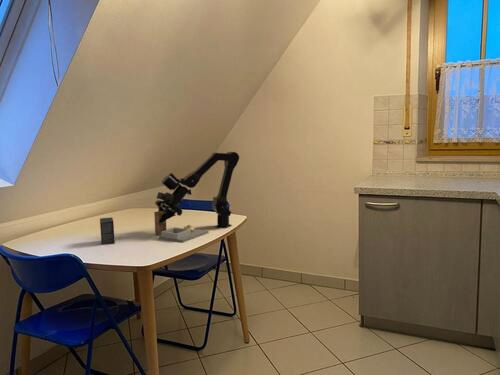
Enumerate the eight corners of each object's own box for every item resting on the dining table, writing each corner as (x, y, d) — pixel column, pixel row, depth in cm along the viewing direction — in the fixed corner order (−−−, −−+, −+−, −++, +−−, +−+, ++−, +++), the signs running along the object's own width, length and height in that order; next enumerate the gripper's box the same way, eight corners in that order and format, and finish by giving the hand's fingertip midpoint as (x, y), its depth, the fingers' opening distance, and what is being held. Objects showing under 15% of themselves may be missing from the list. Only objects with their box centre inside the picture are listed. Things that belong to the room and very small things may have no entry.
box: (101, 240, 190) (99, 218, 189) (114, 239, 192) (112, 217, 191) (101, 245, 183) (100, 221, 181) (114, 243, 185) (113, 220, 183)
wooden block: (162, 232, 203) (161, 210, 202) (166, 234, 200) (165, 212, 199) (155, 234, 201) (154, 212, 200) (159, 235, 198) (158, 213, 196)
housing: (185, 229, 210) (185, 222, 209) (208, 232, 203) (208, 224, 202) (159, 238, 192) (158, 230, 192) (182, 242, 185) (182, 233, 185)
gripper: (157, 184, 207) (137, 208, 202) (175, 187, 193) (155, 214, 187) (172, 198, 213) (153, 222, 208) (191, 202, 199) (171, 228, 193)
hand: (157, 221), depth 199 cm, fingers closed on wooden block, 4 cm apart
